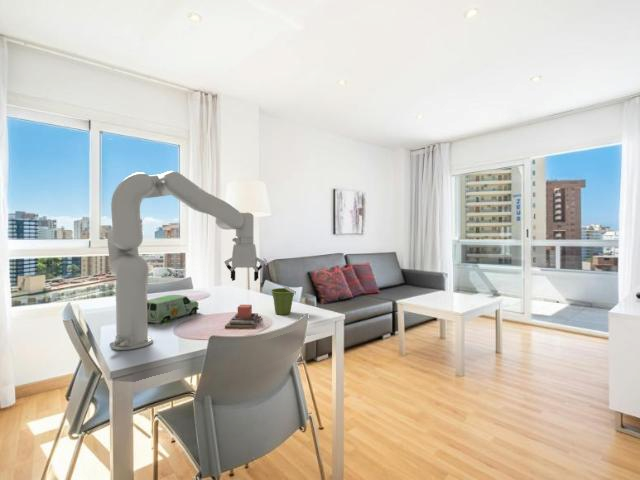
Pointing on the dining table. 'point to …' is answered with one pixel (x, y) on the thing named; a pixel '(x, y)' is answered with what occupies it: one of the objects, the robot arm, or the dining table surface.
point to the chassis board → (243, 322)
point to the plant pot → (282, 300)
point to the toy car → (169, 308)
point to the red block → (245, 311)
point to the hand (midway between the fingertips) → (244, 280)
